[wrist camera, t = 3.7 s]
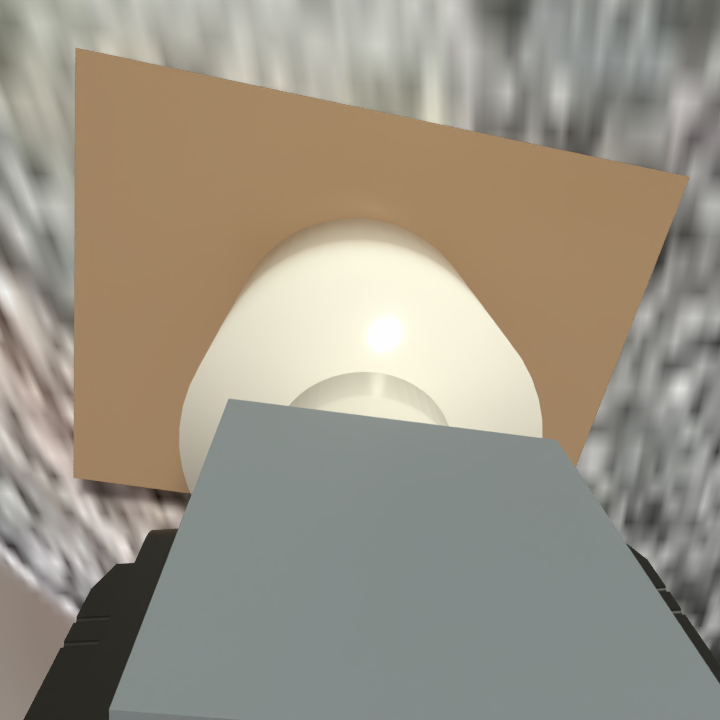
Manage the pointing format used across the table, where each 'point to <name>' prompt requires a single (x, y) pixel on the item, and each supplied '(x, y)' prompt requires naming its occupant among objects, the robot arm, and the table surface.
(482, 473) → the grey cube with tab
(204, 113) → the board with white bottle
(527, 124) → the table surface
